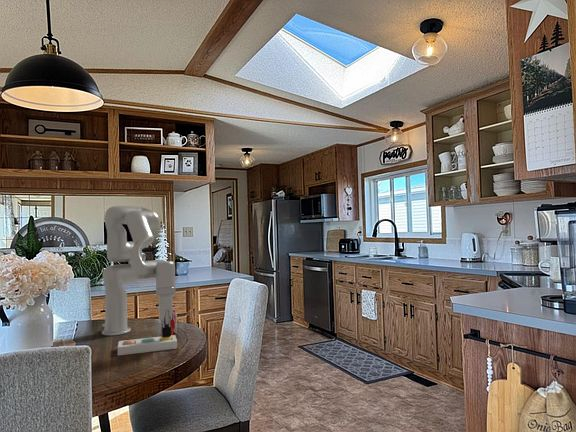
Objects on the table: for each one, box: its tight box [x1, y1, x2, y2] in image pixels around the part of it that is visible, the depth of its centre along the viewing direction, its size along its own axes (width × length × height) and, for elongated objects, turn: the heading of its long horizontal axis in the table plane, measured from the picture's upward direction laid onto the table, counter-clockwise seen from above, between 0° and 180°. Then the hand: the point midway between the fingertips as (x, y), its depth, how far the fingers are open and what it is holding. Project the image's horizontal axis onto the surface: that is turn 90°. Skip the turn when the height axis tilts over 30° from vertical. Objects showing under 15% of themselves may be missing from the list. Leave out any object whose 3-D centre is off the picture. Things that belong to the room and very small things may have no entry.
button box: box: [117, 335, 178, 356], centre depth 161 cm, size 22×10×3 cm, turn 110°
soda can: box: [160, 307, 178, 336], centre depth 180 cm, size 7×7×12 cm
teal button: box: [142, 337, 153, 343], centre depth 161 cm, size 4×4×3 cm
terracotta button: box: [123, 339, 135, 345], centre depth 159 cm, size 4×4×3 cm
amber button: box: [160, 335, 171, 341], centre depth 164 cm, size 4×4×3 cm
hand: (166, 336), depth 163 cm, fingers closed
